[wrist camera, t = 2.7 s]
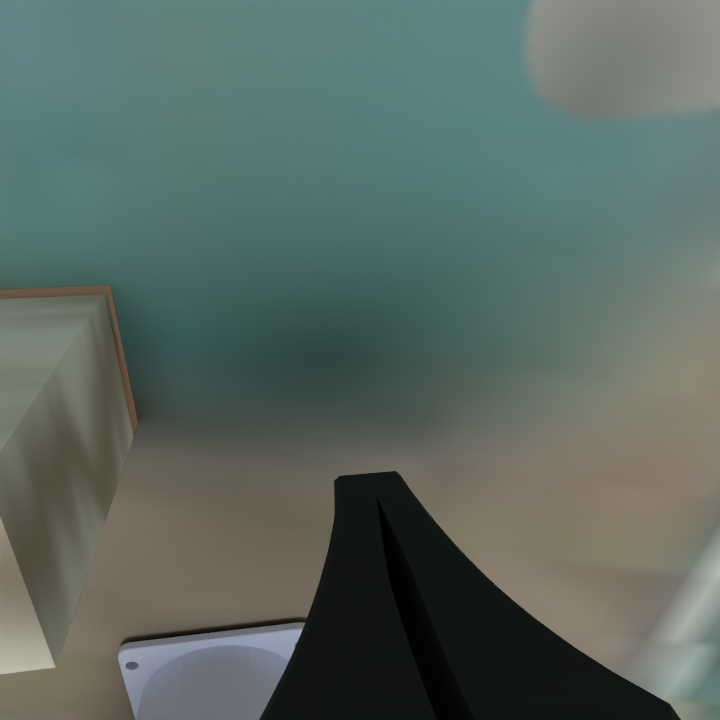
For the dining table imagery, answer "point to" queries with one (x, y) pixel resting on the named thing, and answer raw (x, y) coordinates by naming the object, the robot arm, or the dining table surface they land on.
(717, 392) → the dining table surface
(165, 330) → the dining table surface
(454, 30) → the dining table surface
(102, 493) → the block
